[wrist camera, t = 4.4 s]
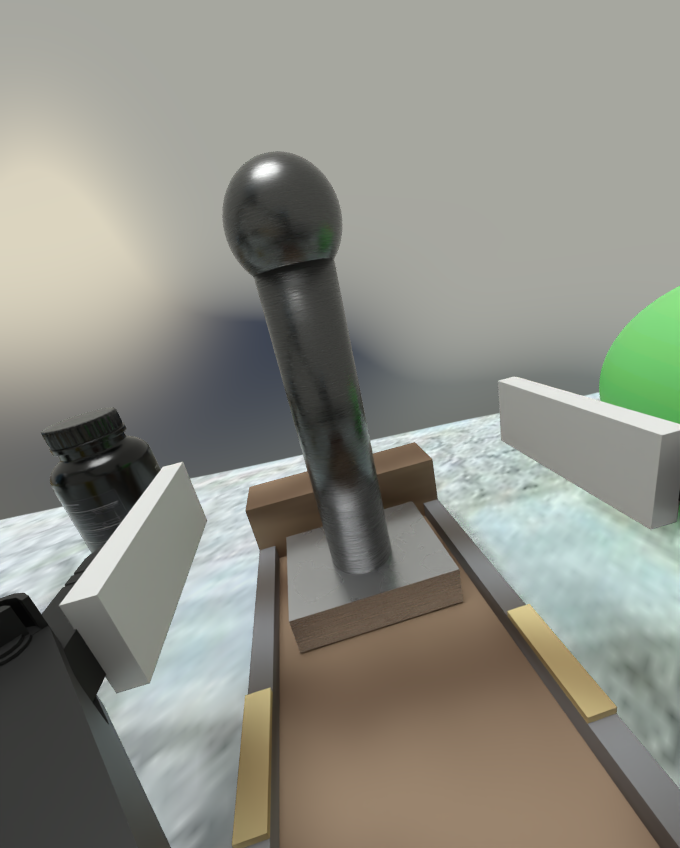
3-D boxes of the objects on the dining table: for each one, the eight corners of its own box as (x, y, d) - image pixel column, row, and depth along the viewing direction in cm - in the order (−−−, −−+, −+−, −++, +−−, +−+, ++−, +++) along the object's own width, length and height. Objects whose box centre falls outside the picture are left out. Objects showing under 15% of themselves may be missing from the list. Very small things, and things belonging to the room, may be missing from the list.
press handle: (294, 563, 21) (177, 203, 15) (416, 527, 22) (357, 168, 15) (300, 652, 16) (115, 138, 9) (463, 601, 17) (402, 87, 10)
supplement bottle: (127, 530, 33) (67, 413, 29) (198, 515, 33) (147, 395, 29) (82, 586, 26) (-5, 446, 22) (168, 567, 26) (98, 423, 22)
